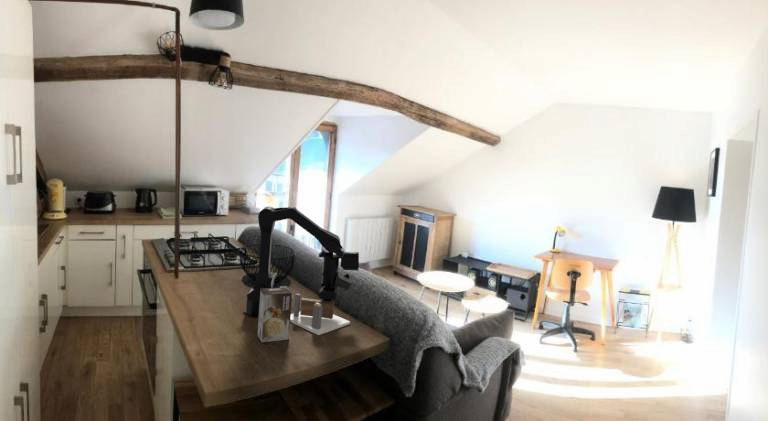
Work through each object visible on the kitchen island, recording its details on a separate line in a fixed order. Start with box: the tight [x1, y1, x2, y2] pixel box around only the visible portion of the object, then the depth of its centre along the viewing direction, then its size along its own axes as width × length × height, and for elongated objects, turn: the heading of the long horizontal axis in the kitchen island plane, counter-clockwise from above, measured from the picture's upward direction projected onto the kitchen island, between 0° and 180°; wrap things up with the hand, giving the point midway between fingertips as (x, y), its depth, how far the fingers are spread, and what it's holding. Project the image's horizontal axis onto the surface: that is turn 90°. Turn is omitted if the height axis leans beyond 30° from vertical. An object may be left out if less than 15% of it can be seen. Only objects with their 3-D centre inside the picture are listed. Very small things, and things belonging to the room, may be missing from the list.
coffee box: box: [257, 287, 293, 343], centre depth 149 cm, size 9×6×16 cm
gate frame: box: [290, 293, 351, 336], centre depth 167 cm, size 16×18×10 cm
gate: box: [299, 297, 335, 319], centre depth 168 cm, size 2×12×6 cm, turn 88°
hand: (327, 308), depth 171 cm, fingers closed
